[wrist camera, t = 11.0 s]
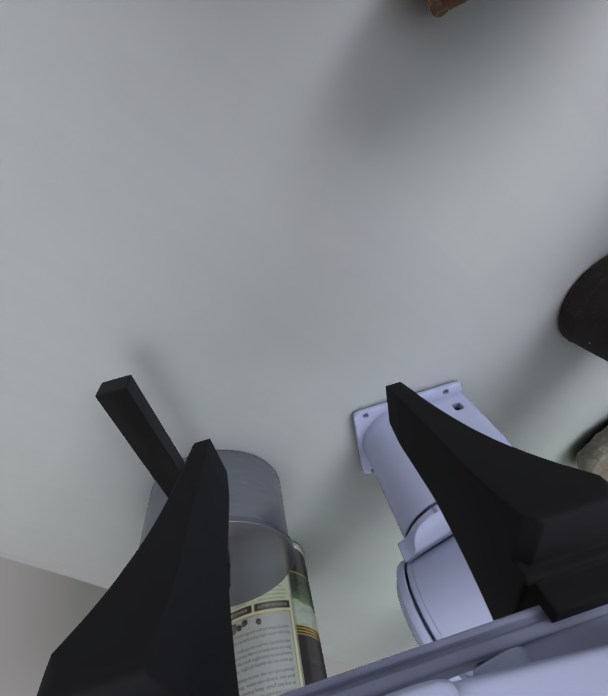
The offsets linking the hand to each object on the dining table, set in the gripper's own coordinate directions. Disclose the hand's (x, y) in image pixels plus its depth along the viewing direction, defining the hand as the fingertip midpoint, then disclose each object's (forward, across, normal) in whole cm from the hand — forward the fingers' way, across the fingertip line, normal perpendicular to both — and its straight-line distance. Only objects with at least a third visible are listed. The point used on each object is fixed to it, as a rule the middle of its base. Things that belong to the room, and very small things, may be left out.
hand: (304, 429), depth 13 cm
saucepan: (+10, +9, +10) cm, 17 cm away
